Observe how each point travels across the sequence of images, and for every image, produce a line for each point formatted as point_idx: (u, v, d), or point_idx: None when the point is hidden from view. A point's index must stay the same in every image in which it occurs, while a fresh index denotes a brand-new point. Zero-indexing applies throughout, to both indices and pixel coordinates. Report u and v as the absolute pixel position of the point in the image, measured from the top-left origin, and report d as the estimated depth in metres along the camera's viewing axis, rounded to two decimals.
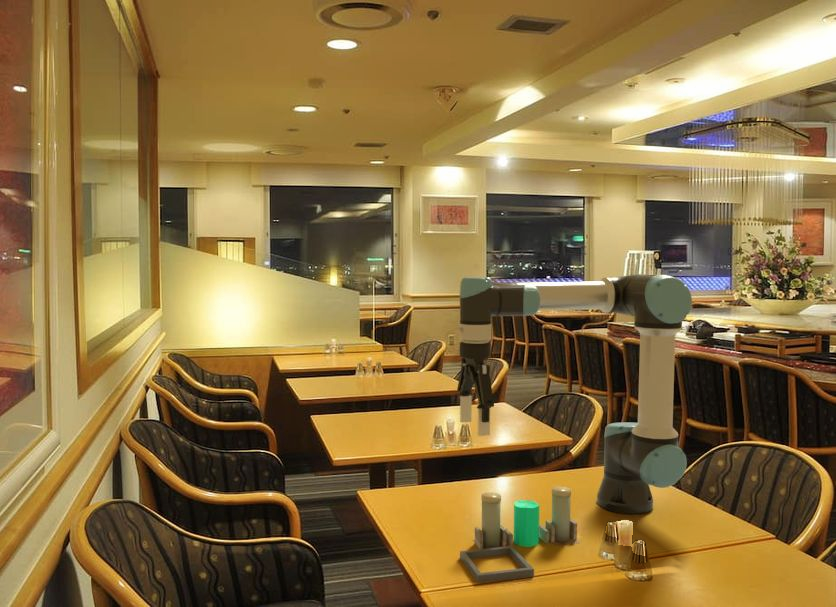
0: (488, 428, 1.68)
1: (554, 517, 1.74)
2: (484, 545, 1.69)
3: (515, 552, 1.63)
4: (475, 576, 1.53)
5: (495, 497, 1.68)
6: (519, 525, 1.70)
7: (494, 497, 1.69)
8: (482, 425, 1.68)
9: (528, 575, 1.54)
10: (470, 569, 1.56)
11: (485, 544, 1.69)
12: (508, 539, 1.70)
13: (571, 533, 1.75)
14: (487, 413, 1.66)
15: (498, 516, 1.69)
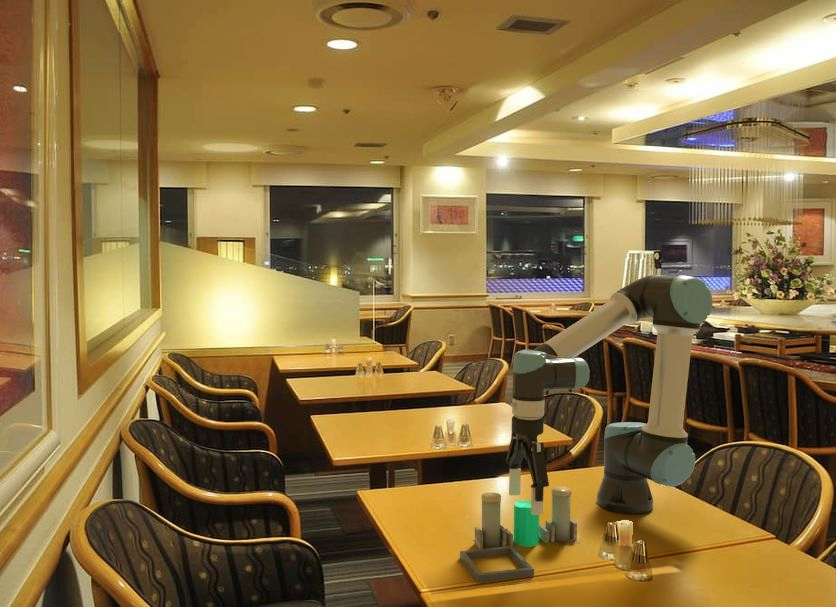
0: (541, 507, 1.65)
1: (554, 517, 1.74)
2: (484, 545, 1.69)
3: (515, 552, 1.63)
4: (475, 576, 1.53)
5: (495, 497, 1.69)
6: (519, 525, 1.70)
7: (494, 497, 1.69)
8: (535, 504, 1.65)
9: (528, 575, 1.54)
10: (470, 569, 1.56)
11: (485, 544, 1.69)
12: (508, 539, 1.70)
13: (571, 533, 1.75)
14: (541, 492, 1.64)
15: (498, 516, 1.69)
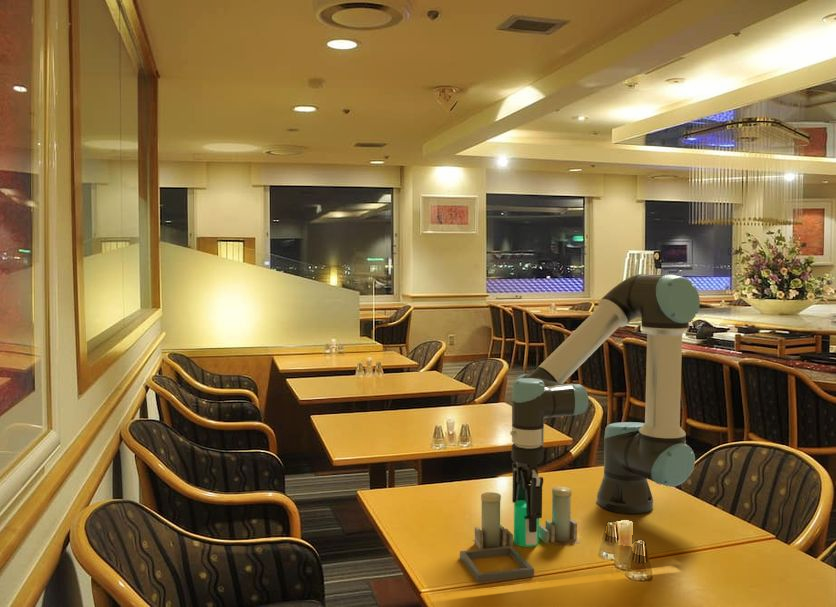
0: (535, 537, 1.70)
1: (554, 517, 1.74)
2: (484, 545, 1.69)
3: (515, 552, 1.63)
4: (475, 576, 1.53)
5: (495, 497, 1.69)
6: (519, 525, 1.70)
7: (494, 497, 1.69)
8: (529, 534, 1.70)
9: (528, 575, 1.54)
10: (470, 569, 1.56)
11: (485, 544, 1.69)
12: (508, 539, 1.70)
13: (571, 533, 1.75)
14: (534, 523, 1.69)
15: (498, 516, 1.69)
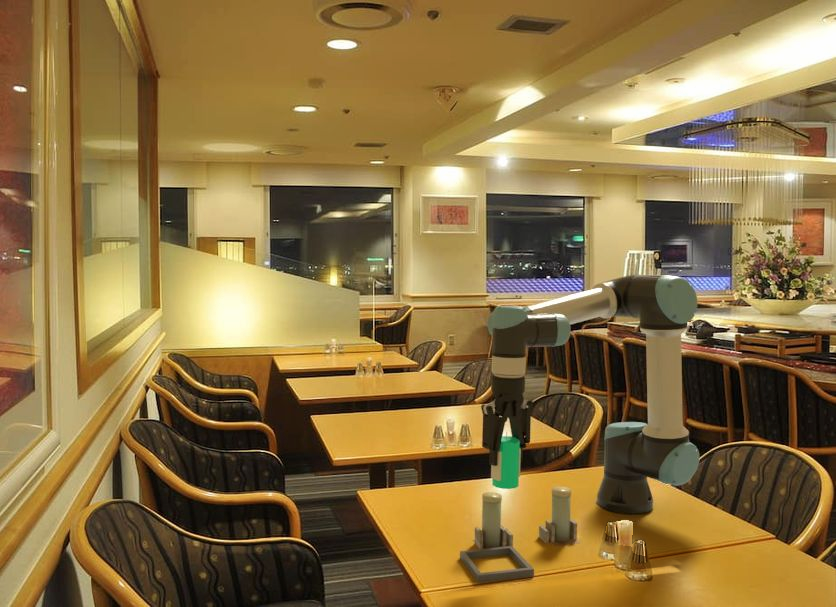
0: (497, 473, 1.60)
1: (554, 517, 1.74)
2: (484, 545, 1.69)
3: (515, 552, 1.63)
4: (475, 576, 1.53)
5: (496, 497, 1.69)
6: None
7: (495, 497, 1.69)
8: (493, 468, 1.61)
9: (528, 575, 1.54)
10: (470, 569, 1.56)
11: (485, 544, 1.69)
12: (508, 539, 1.70)
13: (571, 533, 1.75)
14: (492, 456, 1.60)
15: (498, 516, 1.69)
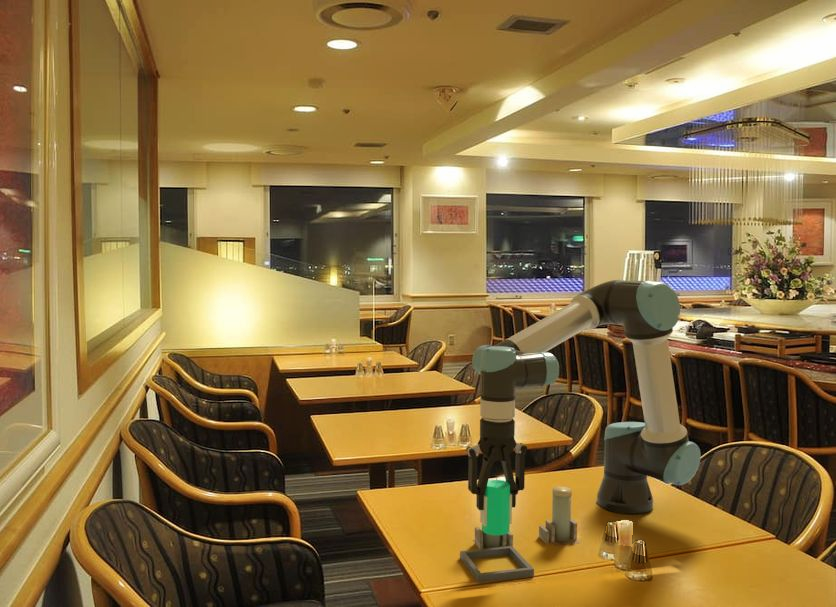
0: (483, 518, 1.56)
1: (554, 517, 1.74)
2: (484, 545, 1.69)
3: (515, 552, 1.63)
4: (475, 576, 1.53)
5: None
6: None
7: None
8: (481, 512, 1.58)
9: (528, 575, 1.54)
10: (470, 569, 1.56)
11: (485, 544, 1.69)
12: (508, 539, 1.70)
13: (571, 533, 1.75)
14: (478, 500, 1.56)
15: None
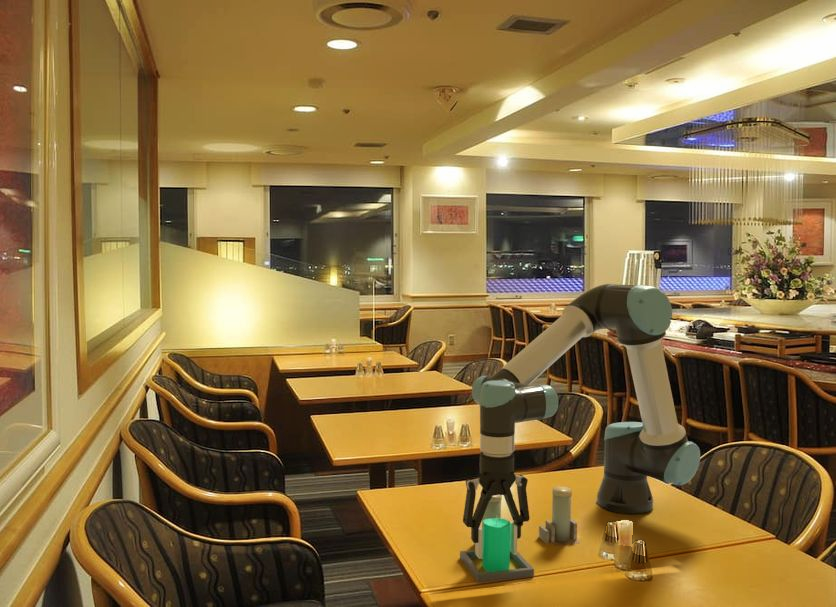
0: (478, 551, 1.57)
1: (554, 517, 1.74)
2: None
3: None
4: (475, 576, 1.53)
5: (495, 497, 1.69)
6: None
7: (494, 496, 1.69)
8: (476, 544, 1.58)
9: (528, 575, 1.54)
10: (470, 569, 1.56)
11: None
12: None
13: (571, 533, 1.75)
14: (472, 533, 1.57)
15: (498, 516, 1.69)
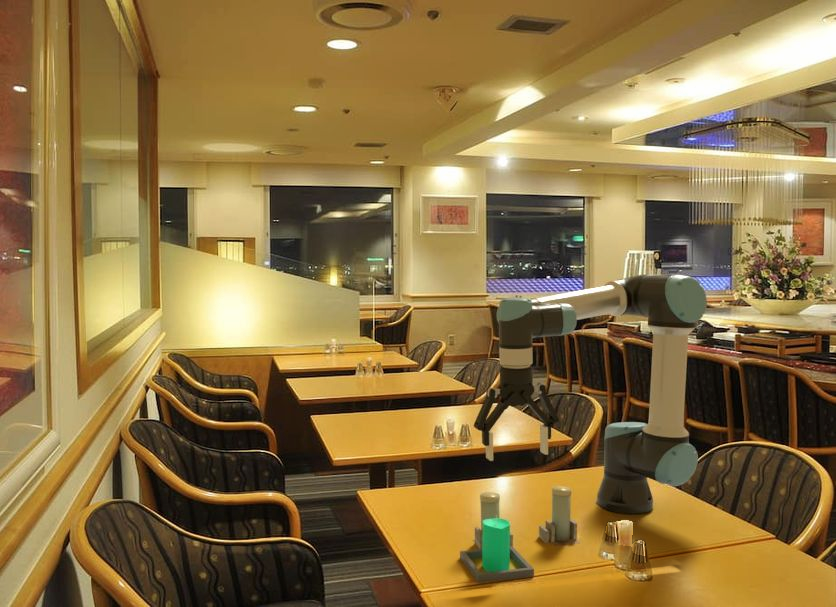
0: (489, 453, 1.64)
1: (554, 516, 1.74)
2: None
3: (515, 552, 1.63)
4: (475, 576, 1.53)
5: (493, 497, 1.68)
6: None
7: (492, 497, 1.69)
8: (487, 448, 1.65)
9: (528, 575, 1.54)
10: (470, 569, 1.56)
11: None
12: None
13: (571, 533, 1.75)
14: (483, 436, 1.64)
15: (497, 516, 1.69)
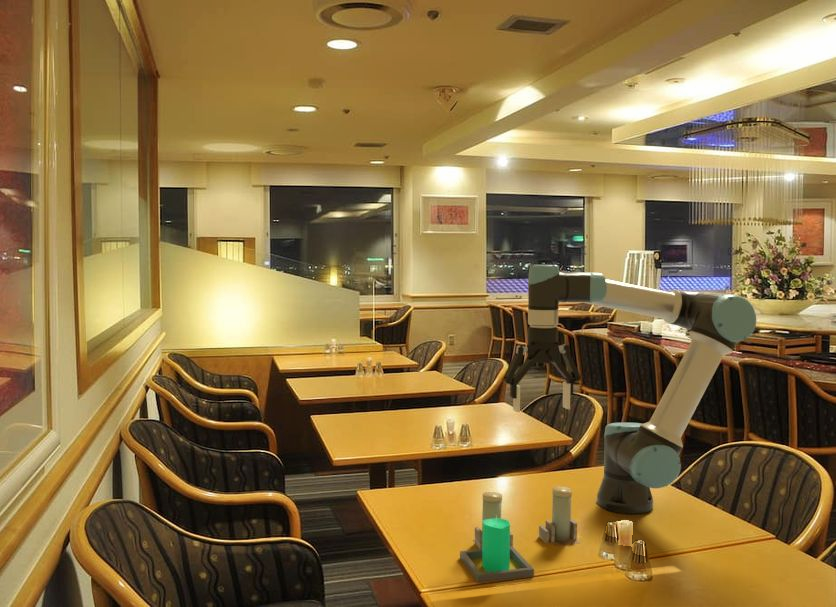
0: (516, 405, 1.80)
1: (554, 517, 1.74)
2: None
3: (515, 552, 1.63)
4: (475, 576, 1.53)
5: (495, 497, 1.69)
6: None
7: (495, 496, 1.69)
8: (514, 401, 1.81)
9: (528, 575, 1.54)
10: (470, 569, 1.56)
11: None
12: None
13: (571, 533, 1.75)
14: (511, 389, 1.80)
15: (498, 516, 1.69)
